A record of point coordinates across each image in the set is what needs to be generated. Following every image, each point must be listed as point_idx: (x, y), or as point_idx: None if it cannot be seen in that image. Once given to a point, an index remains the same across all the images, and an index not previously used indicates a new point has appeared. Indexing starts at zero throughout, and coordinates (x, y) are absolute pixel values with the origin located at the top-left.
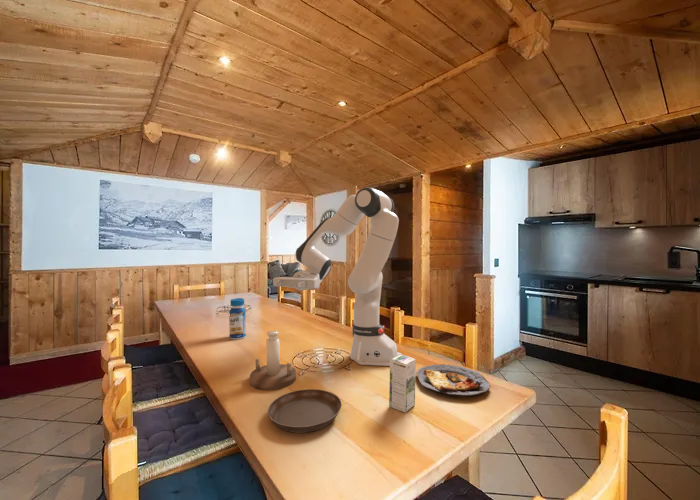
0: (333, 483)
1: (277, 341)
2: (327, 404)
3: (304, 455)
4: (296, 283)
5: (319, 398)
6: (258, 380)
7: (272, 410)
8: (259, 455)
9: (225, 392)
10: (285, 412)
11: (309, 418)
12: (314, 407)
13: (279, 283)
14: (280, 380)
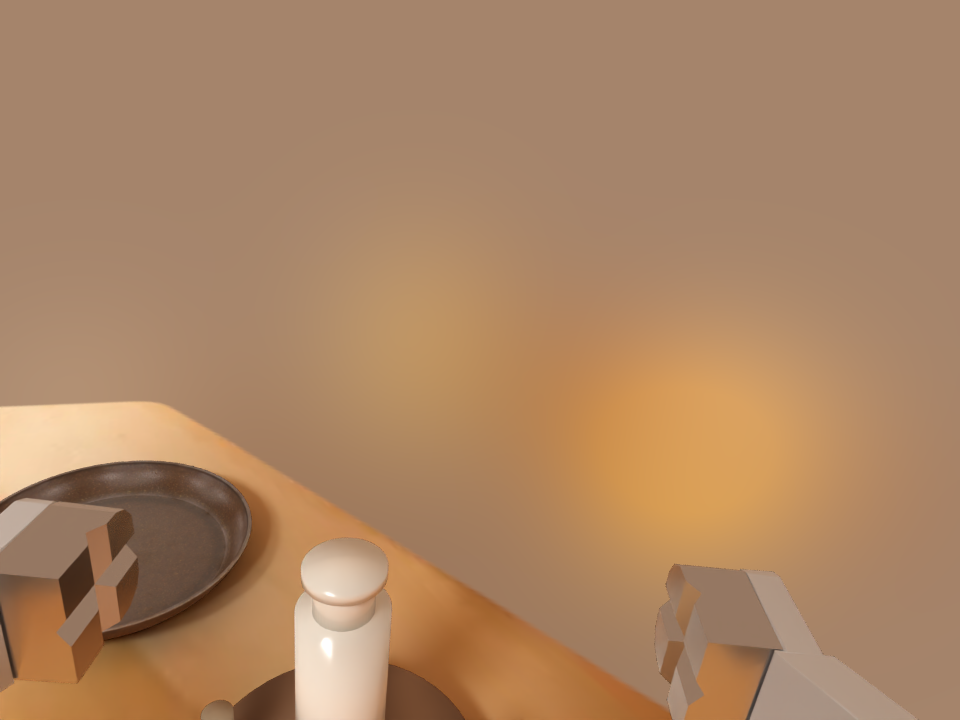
0: (59, 416)
1: (301, 598)
2: None
3: (120, 453)
4: (100, 508)
5: None
6: None
7: (240, 535)
8: (232, 446)
9: (507, 641)
10: (195, 559)
11: None
12: None
13: (683, 638)
14: (261, 693)
